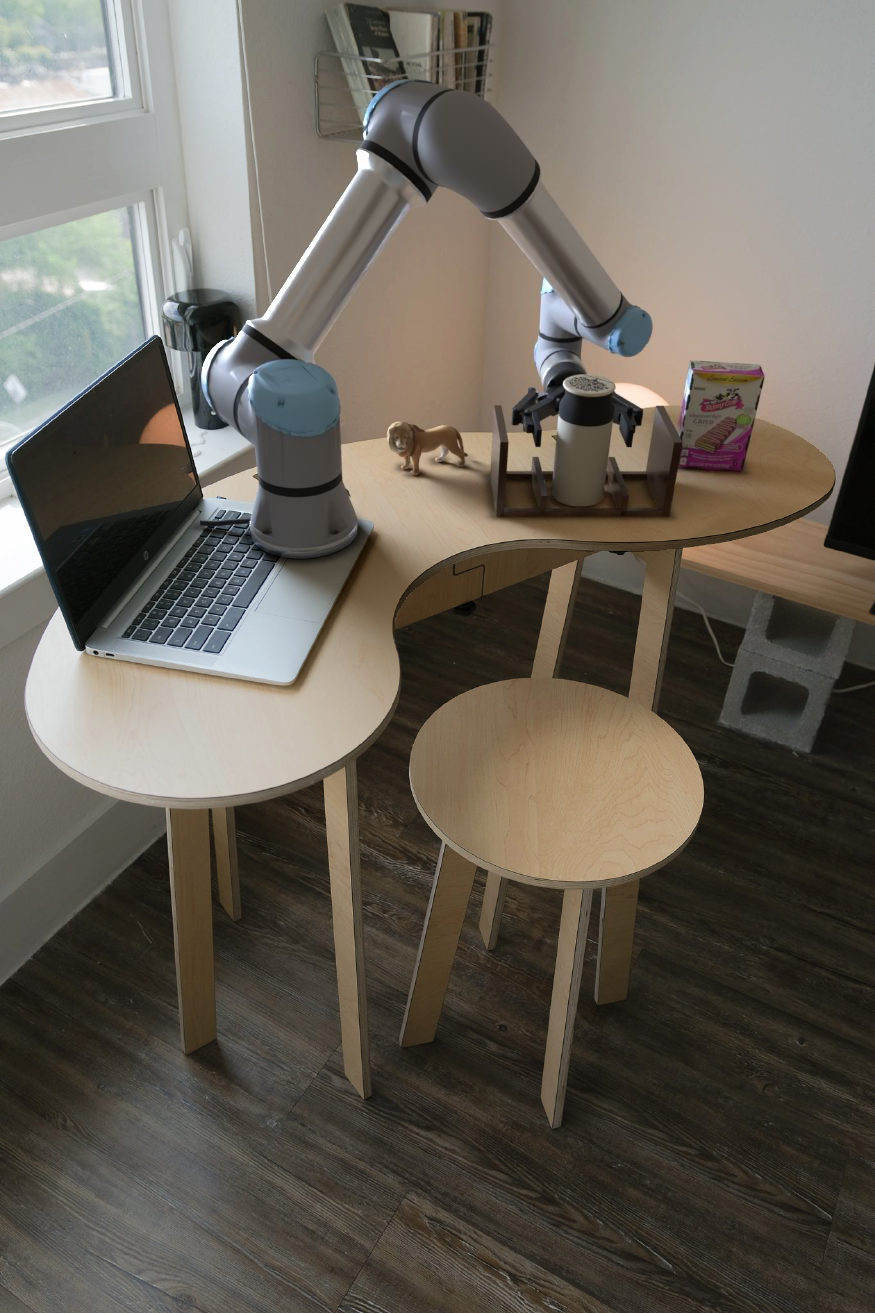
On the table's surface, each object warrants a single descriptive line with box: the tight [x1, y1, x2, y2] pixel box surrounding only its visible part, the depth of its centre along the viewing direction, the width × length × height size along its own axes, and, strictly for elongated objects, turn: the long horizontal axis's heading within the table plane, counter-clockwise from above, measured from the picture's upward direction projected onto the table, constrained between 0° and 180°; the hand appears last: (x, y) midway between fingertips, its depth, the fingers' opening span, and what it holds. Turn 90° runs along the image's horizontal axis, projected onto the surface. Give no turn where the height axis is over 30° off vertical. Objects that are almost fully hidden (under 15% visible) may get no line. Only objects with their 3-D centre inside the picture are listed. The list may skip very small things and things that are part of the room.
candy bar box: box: [676, 360, 766, 472], centre depth 159 cm, size 11×5×16 cm, turn 84°
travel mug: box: [550, 373, 617, 508], centre depth 149 cm, size 8×8×18 cm
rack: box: [489, 404, 683, 518], centre depth 151 cm, size 26×13×12 cm, turn 92°
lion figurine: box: [386, 420, 469, 476], centre depth 158 cm, size 15×5×9 cm, turn 121°
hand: (584, 438), depth 148 cm, fingers open, 13 cm apart
